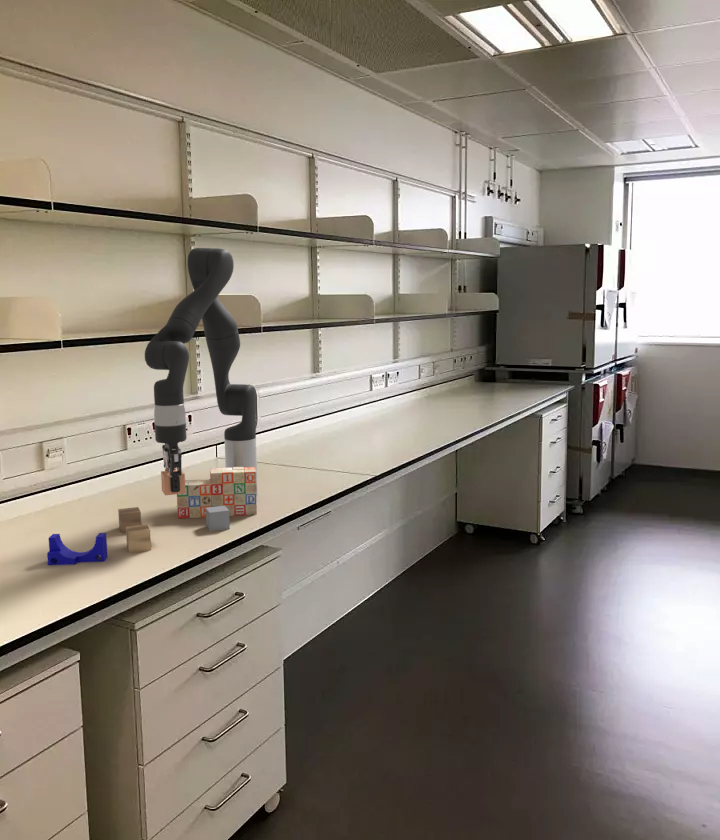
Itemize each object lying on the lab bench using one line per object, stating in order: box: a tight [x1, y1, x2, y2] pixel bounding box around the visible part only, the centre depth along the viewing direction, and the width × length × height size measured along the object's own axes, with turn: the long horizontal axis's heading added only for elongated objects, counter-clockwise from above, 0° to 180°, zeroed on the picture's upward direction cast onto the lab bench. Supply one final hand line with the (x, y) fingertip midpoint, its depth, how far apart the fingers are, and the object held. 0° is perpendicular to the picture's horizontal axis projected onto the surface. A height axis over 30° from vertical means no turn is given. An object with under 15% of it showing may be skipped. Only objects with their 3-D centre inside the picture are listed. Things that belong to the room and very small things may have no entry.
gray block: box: [205, 506, 231, 532], centre depth 205 cm, size 5×5×5 cm
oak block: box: [125, 523, 152, 554], centre depth 189 cm, size 5×5×5 cm
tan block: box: [117, 506, 142, 534], centre depth 204 cm, size 5×5×5 cm
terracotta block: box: [160, 469, 186, 496], centre depth 198 cm, size 5×5×5 cm
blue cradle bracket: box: [46, 532, 108, 566], centre depth 180 cm, size 12×4×6 cm, turn 93°
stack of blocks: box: [176, 467, 258, 519], centre depth 217 cm, size 21×6×12 cm, turn 100°
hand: (173, 488), depth 198 cm, fingers closed on terracotta block, 5 cm apart
